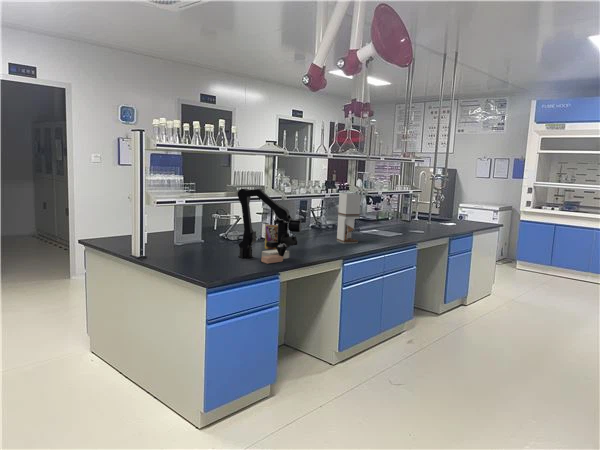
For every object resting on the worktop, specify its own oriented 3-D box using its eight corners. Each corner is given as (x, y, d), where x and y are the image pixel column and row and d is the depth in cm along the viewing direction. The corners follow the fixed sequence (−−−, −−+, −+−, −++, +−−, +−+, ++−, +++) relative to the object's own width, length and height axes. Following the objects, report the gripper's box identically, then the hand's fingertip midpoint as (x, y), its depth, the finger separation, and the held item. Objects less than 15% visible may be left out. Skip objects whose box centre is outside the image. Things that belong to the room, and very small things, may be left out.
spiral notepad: (270, 260, 249) (270, 253, 249) (261, 258, 255) (261, 250, 255) (289, 258, 259) (289, 251, 258) (280, 255, 265) (280, 248, 264)
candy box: (278, 248, 288) (279, 224, 286) (278, 249, 284) (279, 225, 282) (264, 247, 287) (265, 224, 285) (264, 248, 283) (265, 225, 281)
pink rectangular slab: (267, 263, 241) (267, 258, 240) (261, 261, 245) (261, 256, 244) (282, 261, 248) (283, 256, 248) (276, 259, 252) (277, 254, 252)
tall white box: (344, 243, 314) (346, 194, 309) (336, 241, 323) (339, 193, 319) (357, 243, 319) (360, 194, 314) (350, 240, 328) (353, 193, 323)
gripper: (278, 234, 237) (277, 262, 239) (304, 231, 249) (303, 259, 251) (266, 231, 245) (265, 258, 247) (291, 229, 257) (290, 255, 259)
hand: (281, 258), depth 251 cm, fingers closed
